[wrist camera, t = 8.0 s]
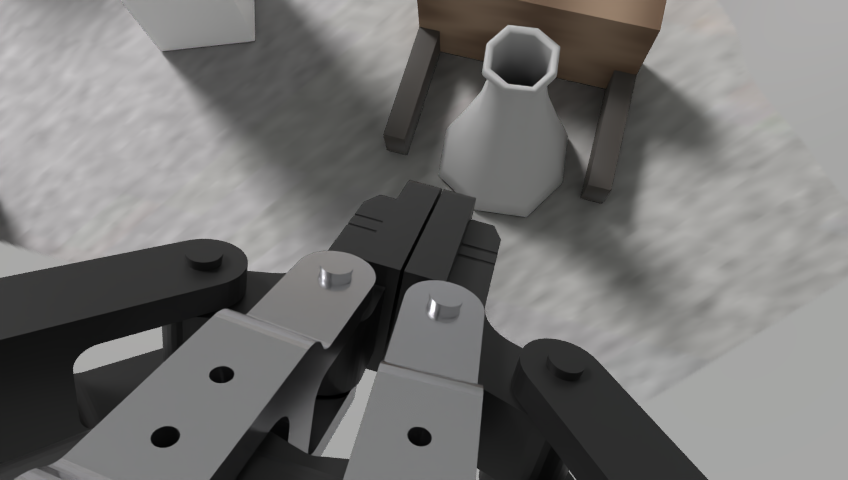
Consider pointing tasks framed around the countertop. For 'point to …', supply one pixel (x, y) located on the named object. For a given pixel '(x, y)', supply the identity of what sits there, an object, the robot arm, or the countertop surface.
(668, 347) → the countertop surface
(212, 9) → the milk
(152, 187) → the countertop surface
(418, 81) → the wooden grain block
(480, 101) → the flask
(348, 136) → the countertop surface
